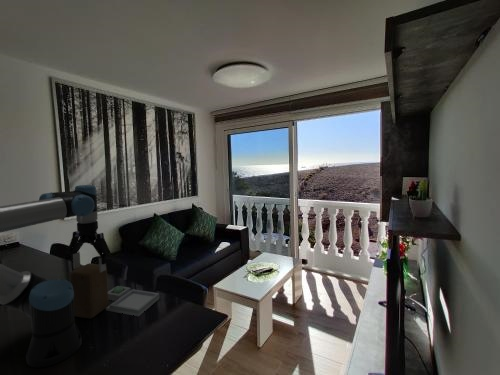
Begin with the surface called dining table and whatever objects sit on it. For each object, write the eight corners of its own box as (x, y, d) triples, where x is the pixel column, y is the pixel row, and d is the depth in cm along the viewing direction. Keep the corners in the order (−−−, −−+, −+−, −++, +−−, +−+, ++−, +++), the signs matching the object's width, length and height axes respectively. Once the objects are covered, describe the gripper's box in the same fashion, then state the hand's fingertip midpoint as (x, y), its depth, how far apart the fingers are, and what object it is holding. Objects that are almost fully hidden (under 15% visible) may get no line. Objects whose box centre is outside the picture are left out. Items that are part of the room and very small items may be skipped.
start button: (118, 297, 121) (118, 290, 120) (111, 296, 122) (111, 289, 121) (124, 293, 125) (124, 286, 124) (117, 292, 126) (117, 285, 125)
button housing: (119, 301, 118) (119, 295, 118) (105, 299, 120) (104, 293, 120) (131, 293, 126) (130, 287, 126) (117, 291, 128) (117, 285, 128)
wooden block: (91, 320, 104) (89, 273, 103) (71, 316, 106) (68, 271, 105) (109, 307, 114) (107, 264, 112) (90, 304, 116) (88, 262, 114)
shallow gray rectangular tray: (138, 316, 107) (138, 310, 107) (105, 310, 111) (105, 304, 111) (159, 298, 122) (159, 293, 122) (129, 293, 126) (129, 288, 126)
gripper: (118, 221, 107) (120, 269, 109) (72, 217, 113) (74, 263, 115) (104, 225, 100) (106, 276, 102) (55, 221, 106) (58, 269, 108)
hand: (89, 269), depth 109 cm, fingers open, 13 cm apart
